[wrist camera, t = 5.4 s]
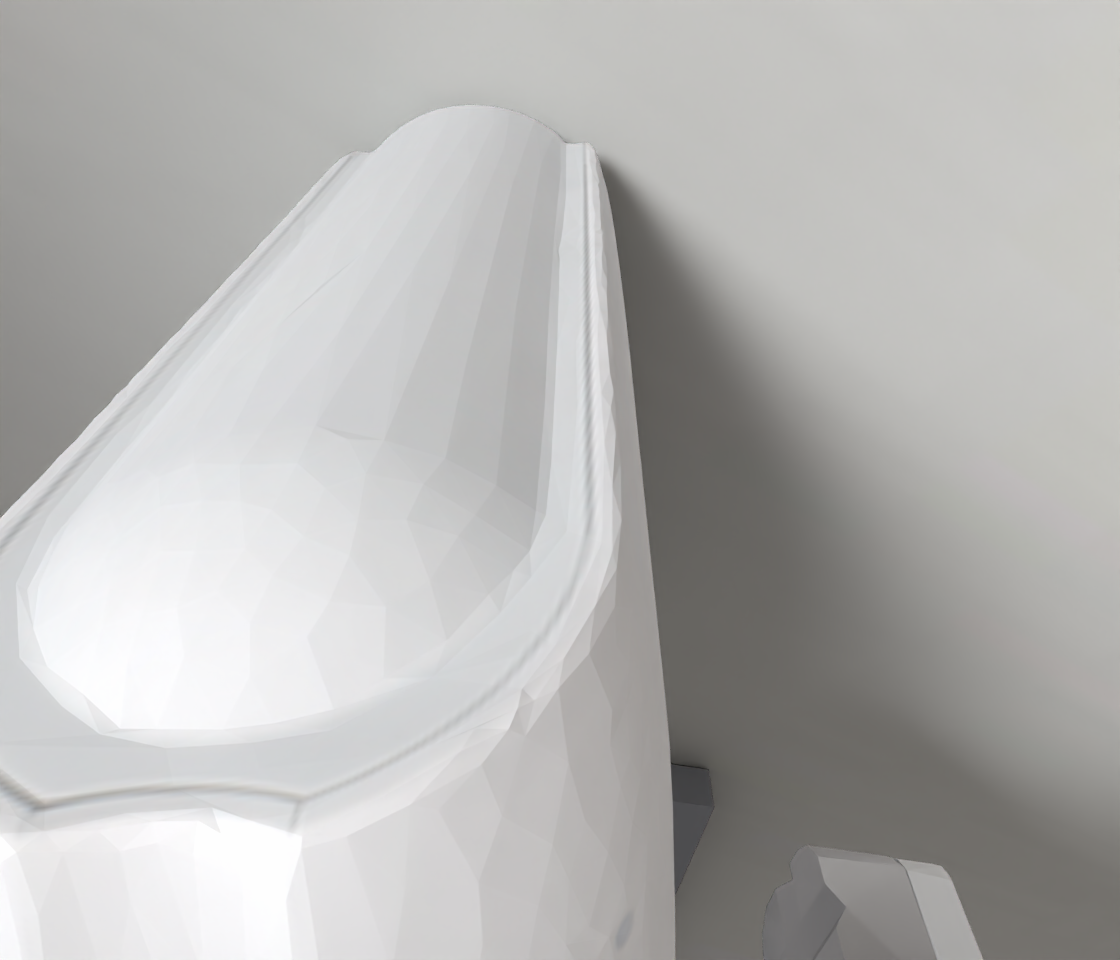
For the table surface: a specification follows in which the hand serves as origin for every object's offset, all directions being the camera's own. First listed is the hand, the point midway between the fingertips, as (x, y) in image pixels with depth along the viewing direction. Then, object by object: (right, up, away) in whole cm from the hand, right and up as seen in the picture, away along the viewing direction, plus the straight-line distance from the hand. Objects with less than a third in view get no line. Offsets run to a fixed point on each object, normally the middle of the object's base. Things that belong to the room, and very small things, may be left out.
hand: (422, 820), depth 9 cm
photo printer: (0, +5, +6) cm, 8 cm away
